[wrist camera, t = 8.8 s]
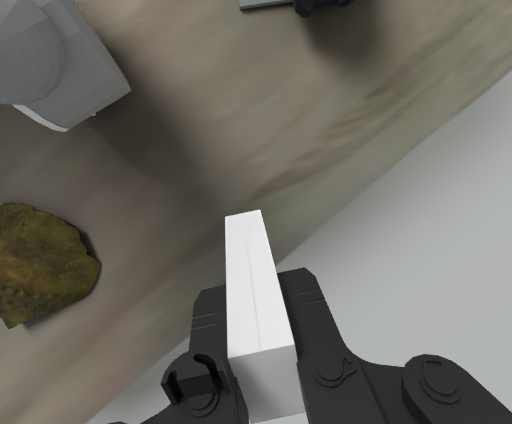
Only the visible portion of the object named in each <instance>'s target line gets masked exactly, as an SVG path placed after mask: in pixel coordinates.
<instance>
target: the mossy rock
mask: <svg viewBox="0 0 512 424" xmlns="http://www.w3.org/2000/svg"><path fill="white" fill-rule="evenodd" d="M86 252H87V247H86V246H85V245H84V244H83V243H82V241H81V238H80V234H79V230H78V228H76V227H71V226H69V225H67V224H66V223H65V221H64V220H62V219H60V218H57V217H55V216H53V215H52V214H48V213H46V212H40V211H37V210H35V209H34V208H33V207H31V206H27V205H25V204H22V203H21V204H14V203H5V204H4V205H2V206H0V317H1V318H2V319H3V321H4V323H5V325H6V326H7V328H8V329H10V328H13V327H15V326H17V325H18V324H20V323H25V322H27V321H28V320H31V319H34V318H36V317H39V316H41V315H44V314H46V313H49V312H51V311H54V310H56V309H57V308H58V307H59V306H66V305H68V304H70V303H72V302H75V301H78V300H80V299H82V298H83V297H85V296H86V295H87V294H88V292H89V291H90V290H91V289H92V288H93V286H94V282H95V281H96V280H97V273H98V270H99V269H100V267H101V263H100V262H98V261H96V259H95V258H93V257H90V256H89V255H87V254H86Z"/></svg>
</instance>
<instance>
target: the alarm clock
mask: <svg viewBox="0 0 512 424" xmlns="http://www.w3.org/2000/svg"><path fill="white" fill-rule="evenodd" d="M130 91H131V88H130V86H129V83H128V82H127V80H126V78H125V77H124V75H123V73H122V72H121V70H120V69H119V67H118V65H117V64H116V62H115V61H114V59H113V58H112V56H111V55H110V53H109V52H108V50H107V49H106V47H105V46H104V44H103V43H102V41H101V40H100V39H99V37H98V36H97V34H96V33H95V31H94V30H93V28H92V27H91V26H90V24H89V23H88V21H87V20H86V18H85V17H84V16H83V14H82V13H81V11H80V10H79V8H78V7H77V6H76V4H75V3H74V1H73V0H0V104H11V105H13V106H14V107H15V108H17V109H18V110H20V111H21V112H23V113H24V114H26V115H27V116H29V117H30V118H32V119H33V120H35V121H36V122H38V123H40V124H42V125H44V126H46V127H48V128H50V129H53V130H56V131H61V132H66V131H68V130H69V129H71V128H72V127H74V126H76V125H77V124H79V123H80V122H82V121H84V120H85V119H87V118H89V117H90V116H95V115H96V114H95V113H97V112H98V111H100V110H101V109H103V108H105V107H106V106H108V105H110V104H111V103H113V102H114V101H116V100H118V99H119V98H121V97H122V96H124V95H126V94H127V93H129V92H130Z"/></svg>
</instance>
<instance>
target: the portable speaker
mask: <svg viewBox="0 0 512 424" xmlns="http://www.w3.org/2000/svg"><path fill="white" fill-rule="evenodd" d="M292 1H293V5H294V8H295V12H296V13H298V14H299V15H301V16H302V17H308V16H310V15H311V13H312V11H313V9H316V8H320V7H324V6H328V5H332V4H335V3H336V4H337V5H338V6H339V7H345V6H347V5H348V4H350V3H351V2H352V1H354V0H292Z"/></svg>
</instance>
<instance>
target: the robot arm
mask: <svg viewBox="0 0 512 424" xmlns="http://www.w3.org/2000/svg"><path fill="white" fill-rule="evenodd" d="M225 239H226V285H224V286H219V287H215V288H210V289H205V290H202V291H201V292H200V294H199V296H198V297H197V299H196V301H195V303H194V310H193V319H192V327H191V328H192V331H191V336H190V344H189V351H188V352H186V353H183V354H182V355H181V356H179V357H178V358H177V359H175V360H174V361H173V362H172V363H171V365H170V366H169V367H168V368H167V370H166V371H165V373H164V376H163V379H162V381H161V386H162V388H163V389H164V391H165V393H166V395H167V396H168V398H169V400H170V402H171V404H170V405H169V406H168V407H167V408H165V409H164V410H163V411H161V412H159V413H158V414H156V415H154V416H153V417H151V418H149V419H147V420H146V421H144V422H142V423H140V424H249V419H250V422H251V424H253V423H257V422H262V421H266V420H271V419H276V418H280V417H285V416H290V415H294V414H298V413H303V412H306V414H307V418H308V422H309V424H512V413H511V411H509V410H508V409H507V408H506V407H505V406H504V405H503V404H502V403H501V402H499V401H498V400H497V399H496V398H495V397H494V396H493V395H492V394H491V393H490V392H489V391H487V390H486V389H485V388H484V387H483V386H482V385H481V384H480V383H479V382H478V381H476V380H475V379H474V378H473V377H472V376H471V375H470V374H469V373H468V372H467V371H466V370H464V369H463V368H461V367H460V366H458V365H457V364H456V363H454V362H453V361H451V360H448V359H446V358H443V357H440V356H438V355H428V354H427V355H426V354H423V355H419V356H416V357H413V358H412V359H411V360H409V361H408V362H407V363H406V364H405V367H397V366H388V365H379V364H374V363H370V362H367V361H365V360H363V359H361V358H359V357H358V356H356V355H355V354H353V353H352V352H351V351H350V350H349V349H348V348H347V346H346V345H345V343H344V341H343V340H342V337H341V335H340V333H339V330H338V328H337V326H336V323H335V321H334V319H333V316H332V314H331V312H330V310H329V307H328V305H327V303H326V301H325V298H324V296H323V293H322V291H321V289H320V286H319V284H318V282H317V279H316V277H315V276H314V275H313V274H312V273H311V272H310V271H308V270H307V269H306V268H299V269H295V270H290V271H286V272H281V273H276V269H275V265H274V262H273V258H272V254H271V250H270V246H269V242H268V238H267V234H266V230H265V226H264V223H263V219H262V215H261V211H260V210H255V211H250V212H246V213H241V214H236V215H232V216H227V217H225ZM109 424H126V423H123V422H114V423H109Z"/></svg>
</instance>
